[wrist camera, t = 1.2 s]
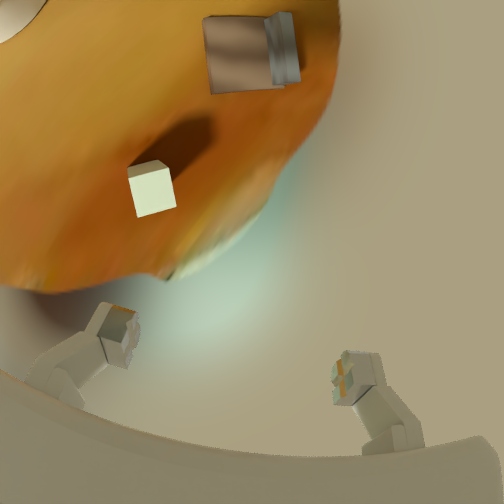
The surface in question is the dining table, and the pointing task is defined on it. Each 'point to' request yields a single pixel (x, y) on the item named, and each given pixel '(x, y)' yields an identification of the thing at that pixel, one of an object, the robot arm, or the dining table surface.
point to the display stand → (250, 52)
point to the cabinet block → (151, 187)
